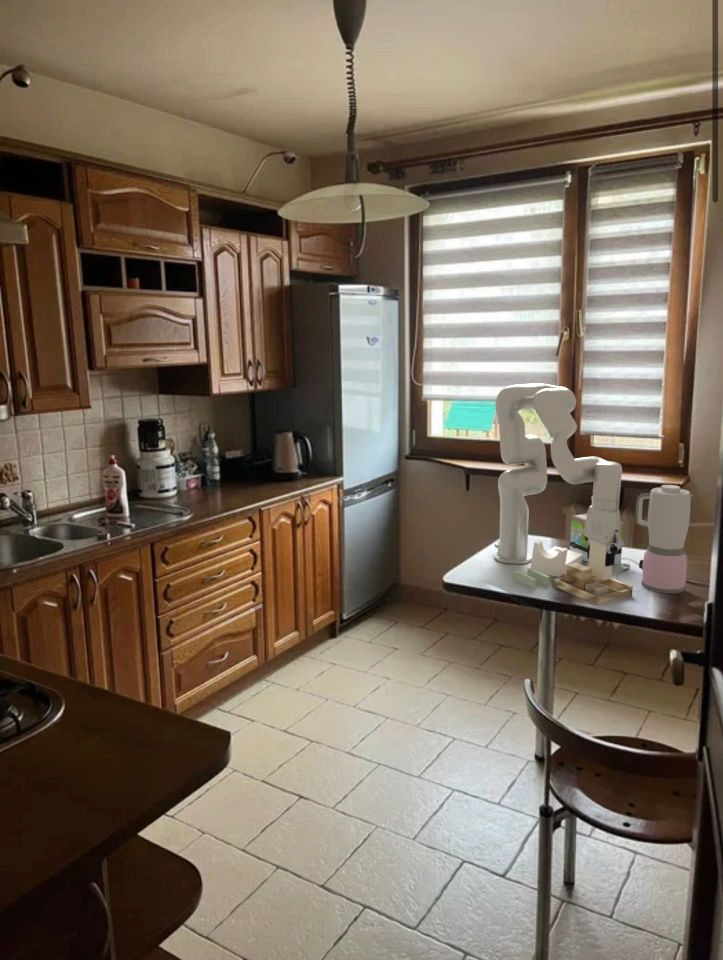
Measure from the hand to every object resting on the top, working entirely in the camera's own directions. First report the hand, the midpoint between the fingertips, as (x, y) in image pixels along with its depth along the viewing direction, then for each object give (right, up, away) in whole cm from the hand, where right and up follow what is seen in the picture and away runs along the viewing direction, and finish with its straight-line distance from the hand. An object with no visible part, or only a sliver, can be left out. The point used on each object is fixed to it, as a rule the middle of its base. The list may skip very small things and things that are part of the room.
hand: (600, 561), depth 213 cm
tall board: (0, -5, +1) cm, 5 cm away
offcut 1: (-6, -4, 0) cm, 8 cm away
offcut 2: (-6, -8, +1) cm, 11 cm away
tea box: (+9, -3, +32) cm, 33 cm away
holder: (-19, -8, +7) cm, 22 cm away
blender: (+19, -9, +4) cm, 21 cm away
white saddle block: (-7, -6, +22) cm, 24 cm away
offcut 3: (-3, -10, -6) cm, 12 cm away
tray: (-3, -10, 0) cm, 10 cm away
